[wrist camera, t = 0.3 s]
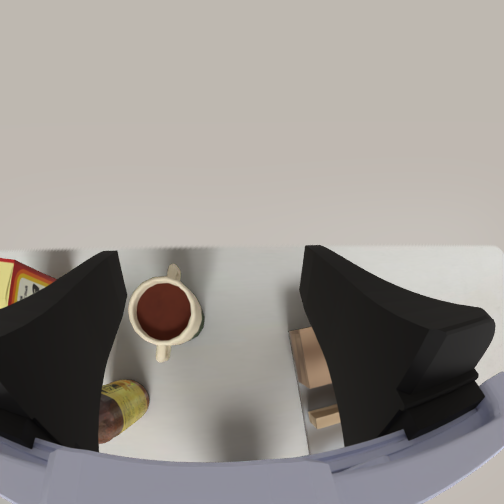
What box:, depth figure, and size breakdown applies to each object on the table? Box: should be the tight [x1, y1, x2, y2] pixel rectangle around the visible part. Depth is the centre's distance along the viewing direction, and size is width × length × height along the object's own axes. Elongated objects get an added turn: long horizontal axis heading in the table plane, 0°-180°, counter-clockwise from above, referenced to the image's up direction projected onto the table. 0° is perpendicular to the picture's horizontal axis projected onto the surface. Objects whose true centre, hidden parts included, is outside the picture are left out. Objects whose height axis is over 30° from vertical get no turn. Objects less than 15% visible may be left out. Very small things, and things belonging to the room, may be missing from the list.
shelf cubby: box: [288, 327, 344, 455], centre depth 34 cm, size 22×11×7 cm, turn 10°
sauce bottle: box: [98, 380, 149, 444], centre depth 25 cm, size 6×6×20 cm
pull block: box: [308, 404, 341, 429], centre depth 35 cm, size 12×10×4 cm
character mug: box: [128, 264, 204, 363], centre depth 33 cm, size 11×7×13 cm, turn 174°
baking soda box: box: [0, 258, 57, 309], centre depth 30 cm, size 10×6×16 cm
